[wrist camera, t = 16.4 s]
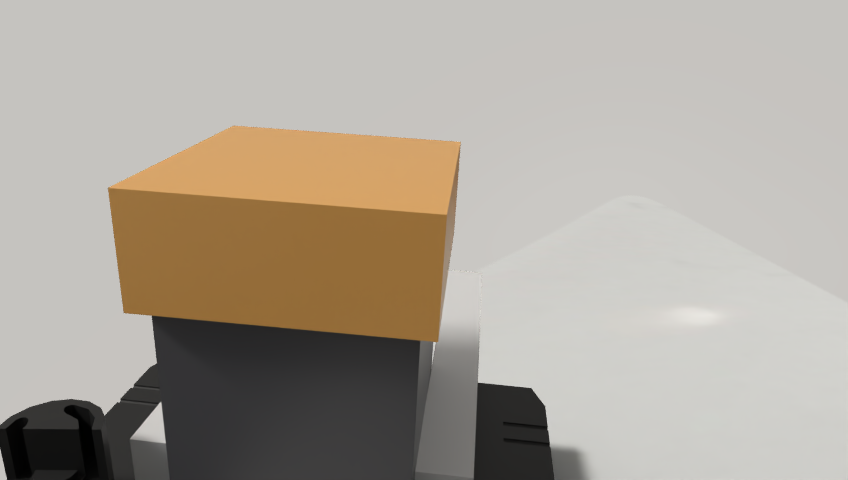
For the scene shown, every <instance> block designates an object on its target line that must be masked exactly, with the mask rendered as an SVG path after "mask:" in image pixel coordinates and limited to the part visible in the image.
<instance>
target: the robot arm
mask: <svg viewBox="0 0 848 480" xmlns="http://www.w3.org/2000/svg"><path fill="white" fill-rule="evenodd" d="M481 291H482V273H478V272H467V271H456V270H448V277H447V284H446V291H445V298H444V305H443V312H442V319H441V326H440V333H439V340H438V342H436V345H435V351H434V357H433V363H432V369H431V375H430V381H429V387H428V393H427V399H426V405H425V411H424V418H423V424H422V431H421V437H420V444H419V450H418V457H417V463H416V470H415V480H554V473H553V465H552V457H551V450H550V447H549V445H550V442H549V434H548V430H547V427H548V426H547V418H546V410H545V406H544V404H543V403H542V402H541V400H540V399H539V398H538V397H537V395H536V394H535V393H534V391H533V390H532V389H531V388H524V387H514V386H504V385H494V384H485V383H478V362H479V338H480V315H481ZM0 449H1V454H2V458H3V462H4V467H5V472H6V476H7V480H170V477H169V468H168V459H167V450H166V441H165V431H164V422H163V413H162V404H161V395H160V386H159V377H158V367H157V364H155V365H153V366H152V367H150V368H149V369H148V370H147V371H146V372H145V373H144V374H143V376H141V378H140V379H139V380H138V381H137V382H136V383H135V384H134V387H133V388H130V389H129V391H127V393H126V394H125V395H124V396H123V397H122V398H121V401H120V403H118V402H117V403H116V404H115V405H114V406H113V408H112V409H111V410H110V411H109V412H108V413H107V414H106V415H105V416H104V414H103V412H102V409H101V408H100V407H98V406H96V405H94V404H93V403H91V402H88V401H82V400H73V399H69V400H59V401H50V402H47V403H43V404H39V405H36V406H32V407H29V408H27V409H25V410H23V411H21V412H19V413H17V414H15V415H13V416H11V417H10V418H8V419H7V420H6V421H5V422H3V423H2V424H1V425H0Z"/></svg>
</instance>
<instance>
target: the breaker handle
mask: <svg viewBox="0 0 848 480" xmlns="http://www.w3.org/2000/svg"><path fill="white" fill-rule="evenodd" d="M460 144H461V142H453V141H438V140H425V139H410V138H397V137H383V136H368V135H355V134H341V133H327V132H312V131H299V130H284V129H271V128H257V127H244V126H232V127H230V128H228V129H226V130H224V131H222V132H220V133H218V134H216V135H214V136H212V137H210V138H208V139H206V140H204V141H202V142H200V143H198V144H196V145H194V146H192V147H190V148H188V149H186V150H184V151H182V152H180V153H177V154H176V155H173V156H171V157H169V158H167V159H165V160H163V161H161V162H159V163H157V164H155V165H153V166H151V167H149V168H147V169H145V170H143V171H141V172H139V173H137V174H135V175H133V176H131V177H129V178H127V179H125V180H123V181H121V182H119V183H117V184H115V185H113V186H111V187H109V188H108V192H109V199H110V207H111V215H112V223H113V231H114V238H115V246H116V255H117V263H118V271H119V279H120V287H121V295H122V302H123V310H124V313H130V314H141V315H152V320H153V321H152V322H153V331H154V340H155V348H156V358H157V367H158V377H159V386H160V395H161V404H162V413H163V422H164V431H165V441H166V450H167V459H168V468H169V477H170V480H415V470H416V463H417V457H418V450H419V444H420V437H421V431H422V424H423V418H424V411H425V405H426V399H427V393H428V387H429V381H430V375H431V367H432V352H433V342H438V340H439V333H440V326H441V319H442V312H443V305H444V298H445V291H446V284H447V277H448V270H449V263H450V256H451V250H452V243H453V236H454V225H455V212H456V211H455V210H456V198H457V185H458V171H459V157H460Z"/></svg>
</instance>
